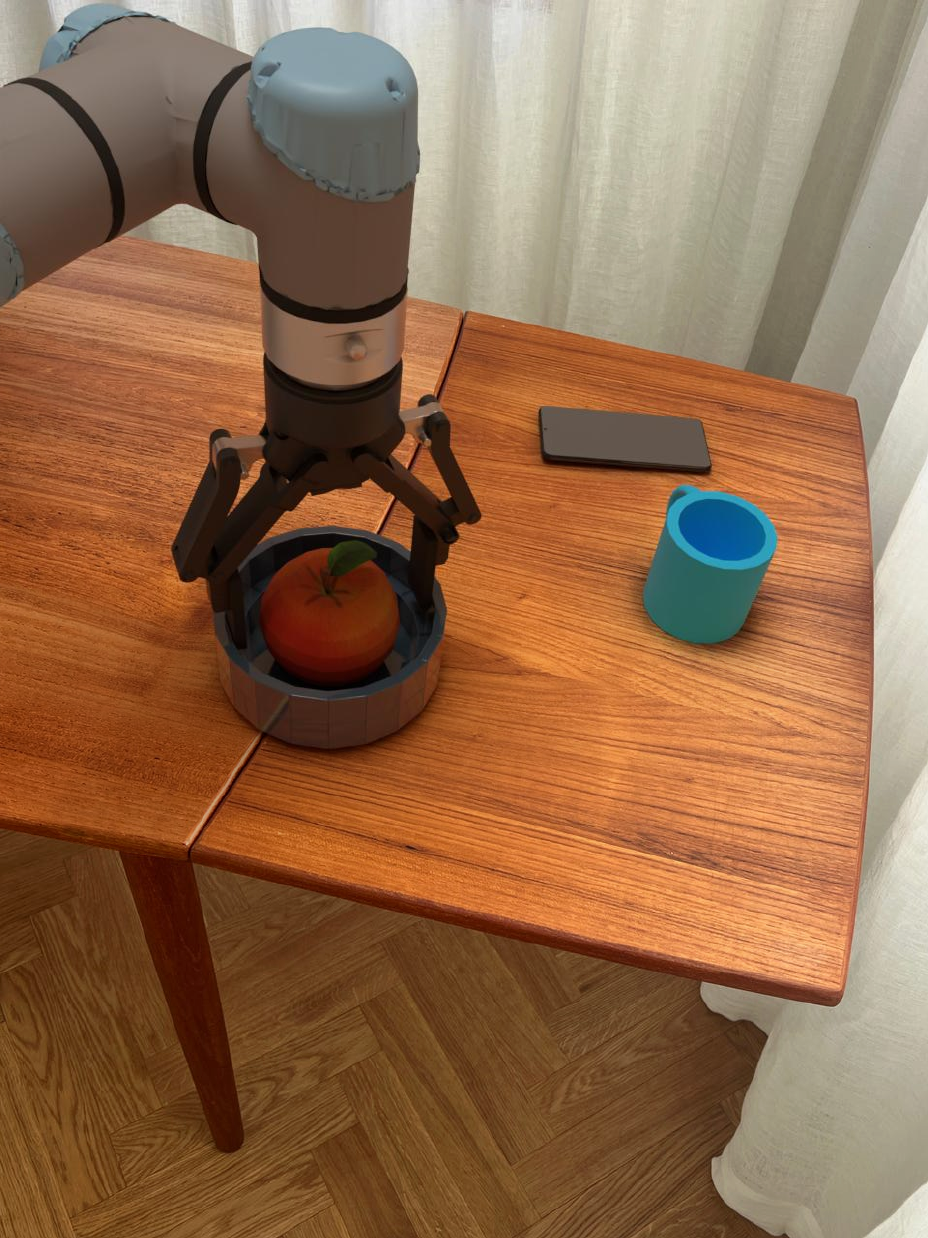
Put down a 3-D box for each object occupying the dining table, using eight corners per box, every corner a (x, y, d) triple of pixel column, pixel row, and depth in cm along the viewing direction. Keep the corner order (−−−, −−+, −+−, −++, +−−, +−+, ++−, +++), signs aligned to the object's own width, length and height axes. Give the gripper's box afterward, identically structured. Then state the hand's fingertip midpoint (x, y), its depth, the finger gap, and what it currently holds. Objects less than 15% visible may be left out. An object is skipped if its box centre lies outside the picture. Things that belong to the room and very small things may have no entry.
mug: (761, 638, 85) (795, 565, 79) (661, 648, 83) (687, 574, 77) (708, 529, 93) (735, 453, 86) (615, 536, 91) (636, 460, 85)
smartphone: (713, 467, 96) (543, 454, 95) (710, 475, 97) (541, 462, 96) (701, 417, 101) (538, 403, 100) (699, 425, 102) (537, 411, 100)
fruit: (238, 636, 80) (229, 537, 72) (354, 589, 84) (357, 491, 76) (300, 731, 75) (298, 636, 67) (421, 677, 79) (431, 581, 71)
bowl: (175, 699, 76) (166, 643, 72) (289, 555, 86) (287, 498, 82) (379, 787, 73) (382, 735, 69) (473, 628, 83) (481, 573, 78)
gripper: (112, 433, 54) (160, 698, 70) (567, 360, 61) (515, 615, 77) (87, 342, 58) (137, 611, 74) (514, 285, 66) (475, 541, 82)
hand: (330, 614), depth 76 cm, fingers open, 12 cm apart
